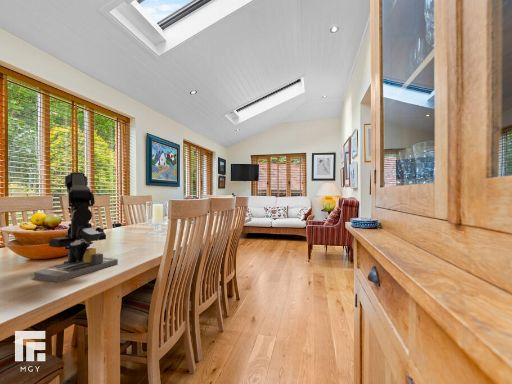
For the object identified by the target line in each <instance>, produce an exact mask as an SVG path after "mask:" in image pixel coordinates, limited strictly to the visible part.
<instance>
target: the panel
mask: <svg viewBox="0 0 512 384" xmlns="http://www.w3.org/2000/svg"><path fill="white" fill-rule="evenodd" d="M118 264H119V263H118V258H112V257H104V253H96V254H93V255H91V262H89V263H88V262H84V256H83V258H82V261H80V262H79V261H77V262H73V263H65V264H62V265H57V266H54V267H50V268H46V269H42V270H37V271H35V272H33V277H34V279H38V280H42V281H47V282H52V283H59V282H63V281H66V280H69V279H73V278H76V277H79V276H82V275H85V274H89V273H93V272H96V271H99V270H102V269H106V268H109V267H113V266H115V265H118Z"/></svg>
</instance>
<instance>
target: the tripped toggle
mask: <svg viewBox="0 0 512 384" xmlns="http://www.w3.org/2000/svg"><path fill="white" fill-rule="evenodd" d="M93 254H97V248H93V247H87V249H86V251H85V254H84V262H88V263H89V262H91V255H93Z"/></svg>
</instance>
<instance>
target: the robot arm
mask: <svg viewBox="0 0 512 384" xmlns="http://www.w3.org/2000/svg"><path fill="white" fill-rule="evenodd" d="M64 187H65V188H66V193H67V197H68V198H67V199H68V200H67V201H68V208H70V223H68V228H67V232H66V234H65V236H64V237H63V236H60V237H53V238H51V239H50V240H49V241H48V247H50V248H51V247H52V248H58V249H59V248H64V250H67V260H65V261H64V263H65V264H69V263H73V262H77V261H79V262H80V261H82V258H83V256H84V254H85V251H86V249H88V248H91V247H90V246H91V245H92V244H94V242H97V241H104V240H107V234H106V233H105V231H104V227H102V226H99V227H96V228H93V225H92V223H90V221H91V220H92V218H93V213H92V211H91V210H90V208H89V207H94V205H95V194H94V192H93V191H91V189H90V187H89V186H88V176H86V175H85V173H84V172H80V171H77V172H76V171H72V172H70V173H69V174H67V175H65V177H64Z"/></svg>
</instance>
